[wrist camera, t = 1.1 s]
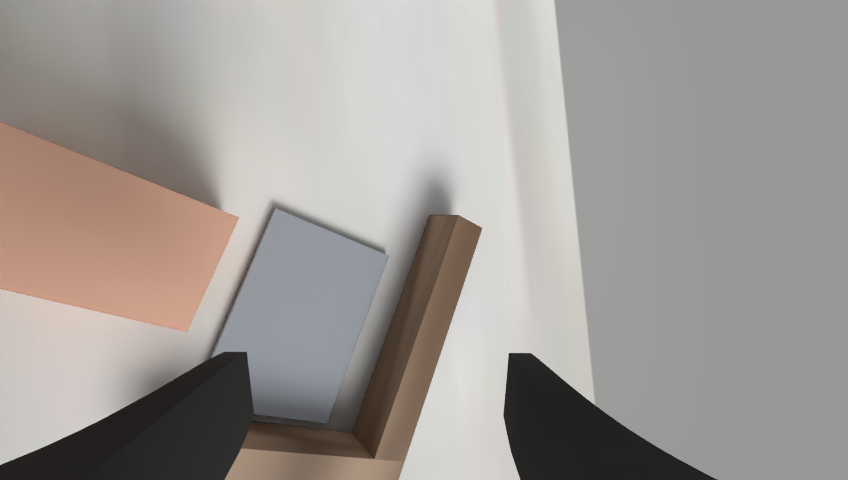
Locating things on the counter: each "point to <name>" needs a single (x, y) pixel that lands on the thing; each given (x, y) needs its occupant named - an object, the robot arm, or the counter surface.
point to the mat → (301, 316)
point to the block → (102, 235)
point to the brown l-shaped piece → (378, 378)
